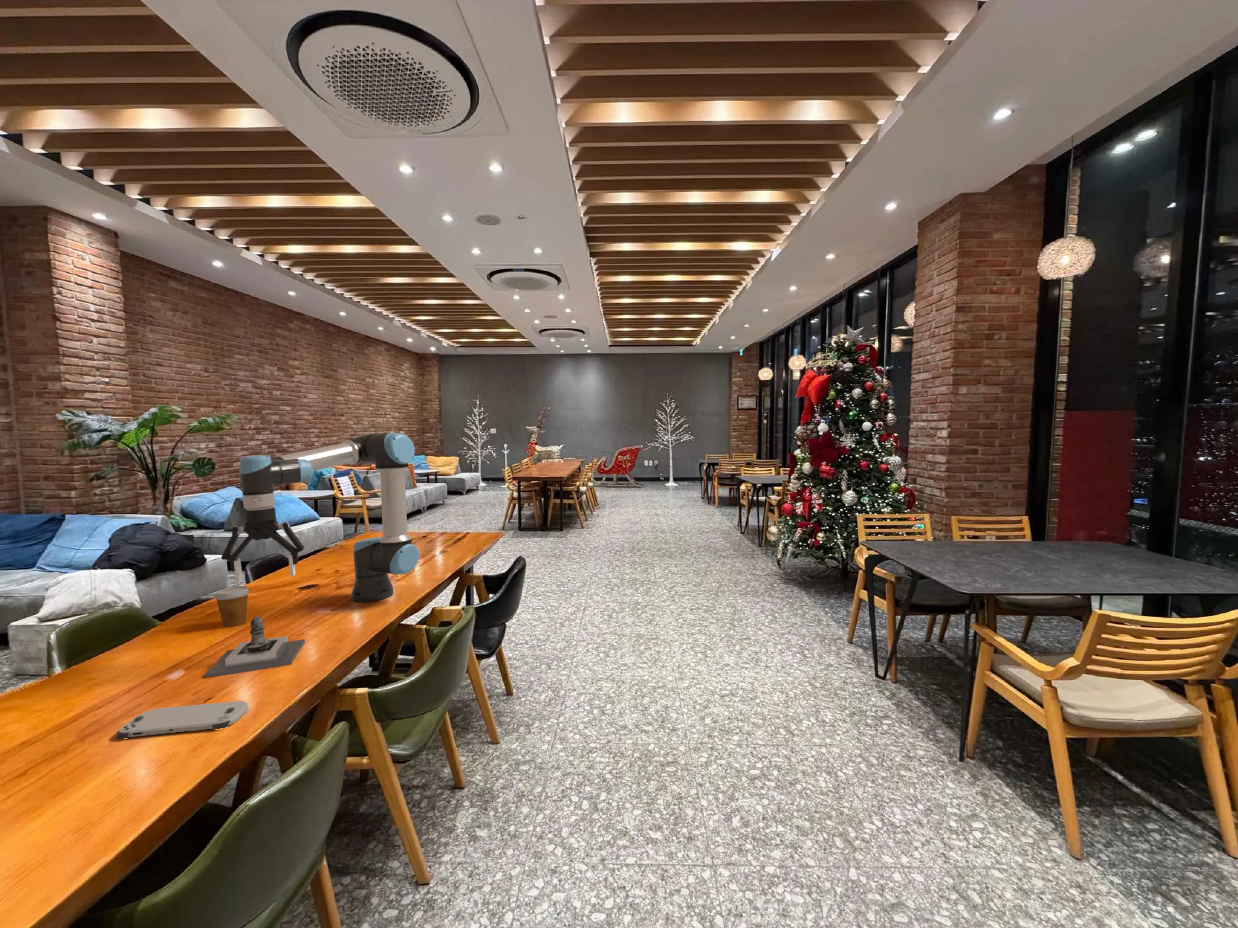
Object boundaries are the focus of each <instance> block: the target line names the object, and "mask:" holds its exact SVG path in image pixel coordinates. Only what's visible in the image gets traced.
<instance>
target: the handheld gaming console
mask: <svg viewBox="0 0 1238 928" xmlns="http://www.w3.org/2000/svg"><path fill="white" fill-rule="evenodd" d="M248 710H249V703H248V702H247V701H243V700H235V701H233V700H232V701H223V702H213V703H203V704H193V705H181V706H179V705H178V706H169V707H159V708H154V709H151V710H148V711H147V710H146V711H145V712H142V713H140V714H138V715H137V716H135V717H134V718H133V719H131V720H130V721H128V722H127V723H126V724H124V725H123V726H121V727H120V728H118V730H117V732H116V734H117V735H116V739H117V738H119V739H124V738H128V739H130V738H129V737H131V738H137V737H136V736H142V737H147V736H146V735H152V736H157V735H156V734H162V735H166V734H165V733H172V734H177V733H176V732H183V733H185V732H184V731H193V732H196V731H195V730H203V731H207V730H206V729H220V728H225V727H227V726H228V727H230V726H232V725H233V724H232V723H234V722H235V723H236V722H237V721H238V720H239V719H240V718H241V717H242V716H243V715H244V714H245V713H247V711H248ZM235 723H234V724H235ZM231 724H232V725H231ZM229 725H230V726H229ZM119 739H118V740H119Z"/></svg>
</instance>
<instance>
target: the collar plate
mask: <svg viewBox="0 0 1238 928" xmlns="http://www.w3.org/2000/svg"><path fill="white" fill-rule="evenodd" d="M288 637H289V636H288V635H284V636H278V637H271V638H268V639H269V640H271V641H270V643H269V647H268V648H267V649H266V650H267V651H261V652H255V653H250V652H249V651H248V649H247V647H246V645H247V644H248V643H250V642H251V640H248V641H242V642H240V643H239V644H238V645H237V646H236V647H235V648H233V649H227V650H226V651H225V652H224V654H223V655H222V656H221V657H220V658H219V659H217V661H216V662H215V663H214V664H213V665H212V666H211V667H210V668H209V669H208V670H207V672H205V673H204V677H205V678H206V679H207V678H211V677H210V676H213V677H219V675H220V676H225V675H232V674H237V673H239V674H240V673H244V672H252V671H257V670H259V671H260V670H265V669H271V668H277V667H283V665H284V666H289V664H291V665H292V664H293V663H294V661H295V660H296V658H297V656H298V654H299V653H300V651H302V649H303V646H304V645H305V643H306V639H296V640H291V641H289V638H288ZM294 659H295V660H294ZM292 662H293V663H292Z"/></svg>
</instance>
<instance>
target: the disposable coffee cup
mask: <svg viewBox="0 0 1238 928" xmlns="http://www.w3.org/2000/svg"><path fill="white" fill-rule="evenodd" d="M249 593H250V590H249V588H248V586H245V585H236V586H230V587H225V588H223V589H219V590H217V591H216V592H215V595H214V598H215V599H216V603H217V606H218V607H217V608H218V611H219V615H220V619H221V622H222V626H223V627H224V628H233V626H234V627H237V626H241V625H244V624H245V623H246V620H247V612H248V611H247V609H248V597H249Z"/></svg>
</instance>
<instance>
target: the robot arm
mask: <svg viewBox="0 0 1238 928" xmlns="http://www.w3.org/2000/svg"><path fill="white" fill-rule="evenodd" d="M415 450H416V449H415V446H414V443H413V441H412V439H410V437H409V436H408V435H406V434H404V433H402V432H401V433H400V432H399V433H398V432H383V433H381V432H379V433H375V432H374V433H368V434H364V435H360V436H356V437H352V438H349V439H344V440H342V441H341V442H340V443H338V444H333V445H329V446H322V447H318V448H313V449H308V450H302V451H299V452H298V451H297V452H293V453H289V454H284V455H283V454H282V455H277V456H273V457H271V456H270V455H267V454H266V455H264V454H263V455H262V454H261V455H250V456H248V455H247V456H242V457H240V460H239V474H240V475H239V476H240V483H241V492H242V495H241V496H242V503H243V508H244V509H245V510H244V511H243V512H244V523H245V525H244V526H240V525H235V526H234V527H232V529H231V531H232V532H231V536H230V538H229V541H228V542H227V544H226V546H225V548H224V551H223V553H222V556H221V560H223V561H225V560H226V561H229V566H230V571H231V572H234V575H235V583H236V584H239V583H241V582H243V571H242V564H241V558H238V557H239V556H240V554H242V552H243V551H244V550H245V549H246V547H247V546H248V545H249V544H250V542H252V541H253V540H254V541H260V540H269V539H272V540H274V541H275V542H277V543H278V544H279V545H281V547H283V548H284V549H285V550H286V551H288V552H289V554H288V565H289V573H290V574H289V576H290V577H294V576H295V575H296V565H297V564H298V563H299V556H298V553H300V552H302V551H303V550H304V549H305V546H304V545H303V543H302V541H300V539H299V538H298V536H297V535H296V533H295V531H293V529H292V528H291V523H290V521H288V520H287V521H284V522H277V514H276V513H277V512H276V507H274V506H275V505H276V503H275V494H274V487H278V486H284V485H291V484H301V483H304V482H305V483H306V482H308V481H310V480H311V479H312V477H313V474H314V472H316V471H321V470H324V469H325V470H326V469H328V468H332V467H336V466H341V465H346V464H347V465H349V466H350V465H351V466H352V465H356V464H375V465H374V466H375V470H376V472H378V473H379V476H380V477H379V479H380V480H379V481H380V499H381V500H380V501H381V518H382V519H381V521H382V536H378V537H371V538H365V539H362V540H358V541H356V542H355V543H354V544H353V563H354V564H353V565H354V576H355V579H354V583H353V586H352V589H351V593H350V594H351V596H350V598H351V599H350V600H351V601H353V602H355V603H356V602H357V603H369V602H376V601H381V600H385V599H388V598H390V597H392V595H394V592H395V591H394V586H393V584H392V581H391V579H390V577H389V574H392V575H396V576H398V575H401V576H402V575H407V574H409V573H411V572H412V571H413V570H414V569H415V567H416V566H417V564H418V562H419V560H420V559H419V558H420V552H419V548H418V547H417V546H416V545H415V544H413V539H412V536H411V535H409V533H408V522H407V521H408V520H407V519H408V518H407V498H406V496H407V495H406V492H407V491H406V477H405V476H406V474H405V473H406V471H407V470H408V469H409V463H410V462H412V460H413V459H414V457H415V455H416V454H415V453H416V452H415ZM279 528H280V529H281V530H282V531H283V532H284V533H285V535H286V536H287V538H288V539H289V540H290V542H291V543H292V544H291V543H290V542H289V541H288V540H287V539H285V538H284V537H283V536H281V534H280V533H279V532H278V529H279ZM243 532H245V533H246V534H247V536H246V538H244V540H243V542H242V543H241V544H240V545H239V546H238V547H237V548H236V549H235V551H234V552H233V553H232V551H233V550H234V547H235V545H236V542H237V541H238V539H239V537H240V535H241V534H242V533H243ZM231 553H232V554H231Z"/></svg>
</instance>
